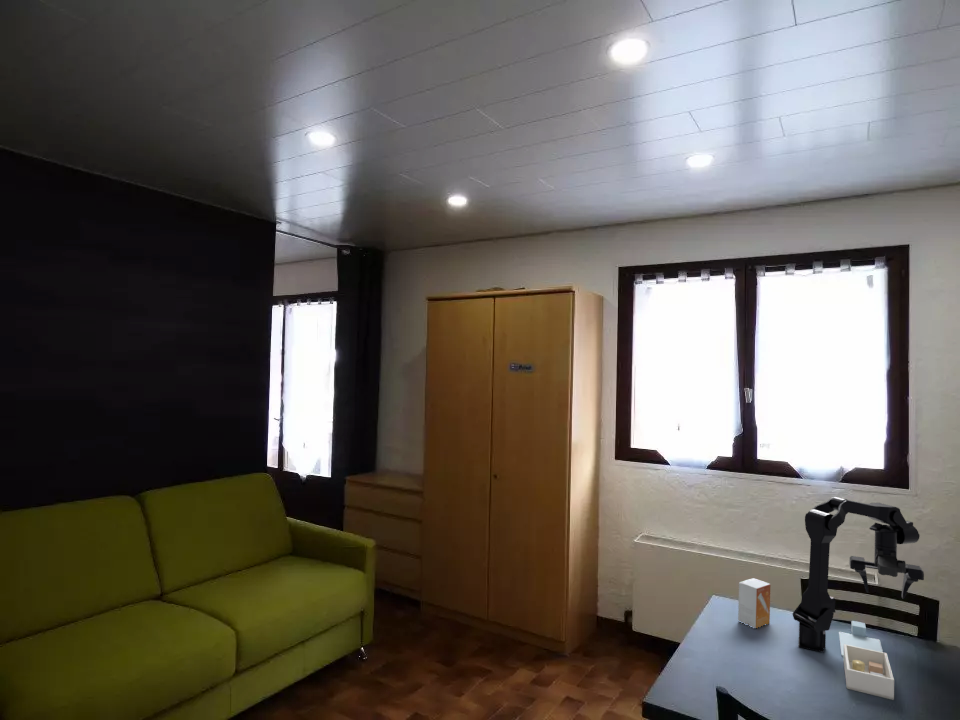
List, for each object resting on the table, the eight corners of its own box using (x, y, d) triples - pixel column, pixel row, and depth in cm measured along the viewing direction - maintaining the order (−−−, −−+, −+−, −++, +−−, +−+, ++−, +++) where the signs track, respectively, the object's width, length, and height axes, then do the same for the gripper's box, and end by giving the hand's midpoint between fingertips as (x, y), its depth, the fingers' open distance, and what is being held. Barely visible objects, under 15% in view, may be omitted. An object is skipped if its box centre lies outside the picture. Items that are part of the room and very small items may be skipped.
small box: (755, 629, 185) (756, 588, 185) (737, 622, 190) (738, 582, 191) (770, 624, 190) (771, 583, 190) (752, 616, 195) (752, 577, 195)
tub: (846, 688, 152) (847, 669, 152) (843, 661, 166) (843, 643, 166) (893, 700, 147) (894, 680, 147) (886, 671, 161) (886, 653, 161)
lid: (841, 656, 169) (841, 644, 169) (838, 628, 187) (838, 618, 187) (886, 666, 164) (886, 654, 164) (878, 637, 182) (878, 625, 182)
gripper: (851, 546, 181) (851, 597, 181) (927, 557, 172) (926, 611, 171) (849, 537, 190) (848, 585, 190) (921, 547, 181) (920, 598, 181)
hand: (884, 595), depth 183 cm, fingers open, 9 cm apart
